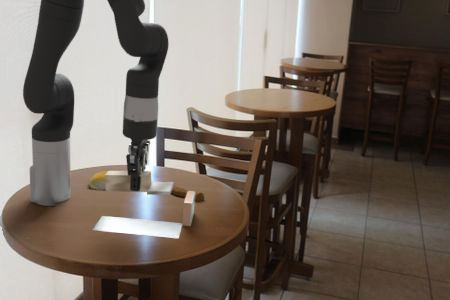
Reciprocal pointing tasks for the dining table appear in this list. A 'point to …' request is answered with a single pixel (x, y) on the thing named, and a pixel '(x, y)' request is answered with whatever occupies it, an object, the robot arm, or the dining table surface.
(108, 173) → the beige stepped block
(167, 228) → the plate
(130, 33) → the robot arm
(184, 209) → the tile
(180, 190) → the primitive tool
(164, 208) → the dining table surface
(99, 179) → the bread roll
